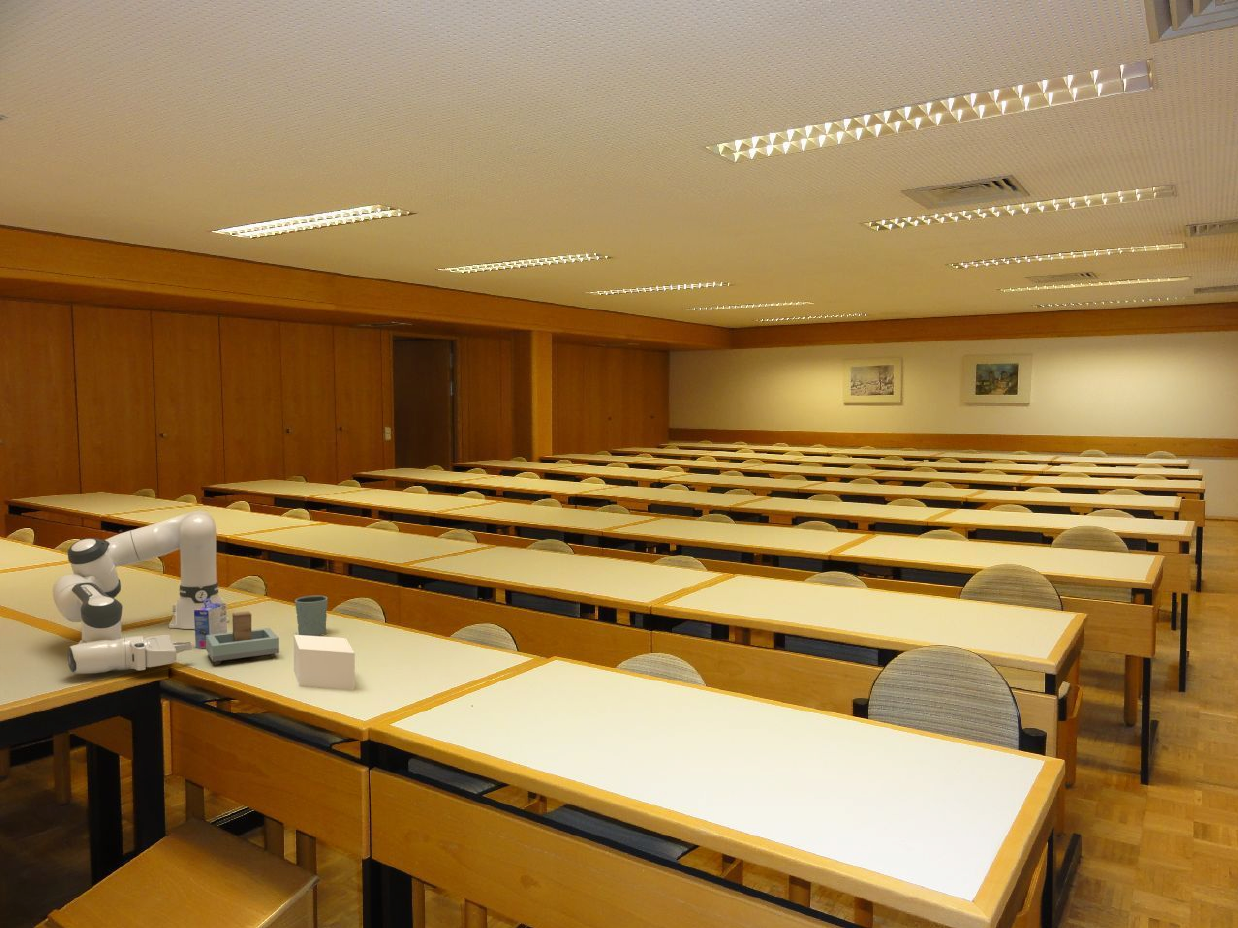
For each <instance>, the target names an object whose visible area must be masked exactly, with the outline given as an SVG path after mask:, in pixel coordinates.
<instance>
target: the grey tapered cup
mask: <svg viewBox="0 0 1238 928" xmlns="http://www.w3.org/2000/svg"><path fill="white" fill-rule="evenodd" d="M294 602H295V604H294V605H295V611H296V619H297V625H298V626H297V630H298V635H306V636H319V635H322V634H324V635H325V634H326V632H327V617H328V614H327V611H328V597H327V596H326V595H325V596H324V595H306V596H305V595H304V596H301V597H298V598H295V600H294ZM322 636H323V635H322Z"/></svg>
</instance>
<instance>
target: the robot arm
mask: <svg viewBox="0 0 1238 928" xmlns="http://www.w3.org/2000/svg"><path fill="white" fill-rule="evenodd" d="M178 550H179V551H180V585H179V598H178V600H177V601H176V602H175V604H174V605H172V613H174V614H173V616H172V619H171V620H170V622H169V624H168V628H169V629H183V630H184V629H185V630H195V623H194V610H196V609H199V608H201V607H203V606H205V605H204V603H203V601H202V600H204V599H207V598H210V600H211V602H212V603H224V598H222V597H221V596H220V594H218V593H219V582H218V580H217V579H218V578H217V576H218V575H217V525H216V521H215V519H214V517H213V516H212V515H211V514H210V513H209V512H208V511H207V512H206V511H204V510H194V511H190V512H187V513H184V514H181V515H178V516H174V517H172V518H168V519H166V520H165V519H164V520H162V521H160V522H155V523H153V524H149V525H146V526H143V527H138V528H136V529H131V530H127V531H125V532H121V533H119V534H116V535H113V536H111V537H109V538H106V539H99V538H95V537H89V538H88V537H87V538H83V539H80V540H78V541H76V542H74V543H73V544H71V546H70V547H69V548H68V549H67V560H68V562H69V563H70V566H71V570H72V573H70V574H65V575H63V576H61V577H59V578H58V579H57V580H56V581H55V583H54V584H53V587H52V596H53V601H54V605H55V607H56V608H57V610H58V612H59V613H60V615H61V616H62V617H63V618H64V619H66V620H67V621H70V622H72V623H81V639H80V641H79V642H78V644H73V645H71V646H69V647H68V649H67V662H68V668H69V671H70V672H72V673H73V674H79V675H81V674H82V675H84V674H85V675H86V674H88V675H89V674H90V675H91V674H98V673H99V674H101V673H102V674H103V673H107V672H110V671H114V670H123V671H124V670H136V671H145V670H146V669H147V668H155V667H161V666H166V665H170V664H173V663H176V662H177V659H178V658H177V656H178V655H177V654H180V653H182V652H186V651H192V646H193V645H192V643H191V642H190V641H173V639H172V638H171V635H170V634H161V635H154V636H148V637H144V636H143V635H135V636H129V637H126V636H125V637H122V616H123V604H122V603H121V602H120V601H119V600H118V599H116V597H117V596H118V595H119V593H120V592H121V590H122V583H121V579H120V578H119V575H118V571H117V567H125V566H129V565H133V564H134V565H135V564H138V563H141V562H145V561H149V560H153V559H155V558H159V557H162V556H166V555H168V554H171V553H173V552H175V551H178ZM205 603H206V604H207V603H210V601H206V602H205ZM228 622H230V617H228V616H227V623H228Z"/></svg>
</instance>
